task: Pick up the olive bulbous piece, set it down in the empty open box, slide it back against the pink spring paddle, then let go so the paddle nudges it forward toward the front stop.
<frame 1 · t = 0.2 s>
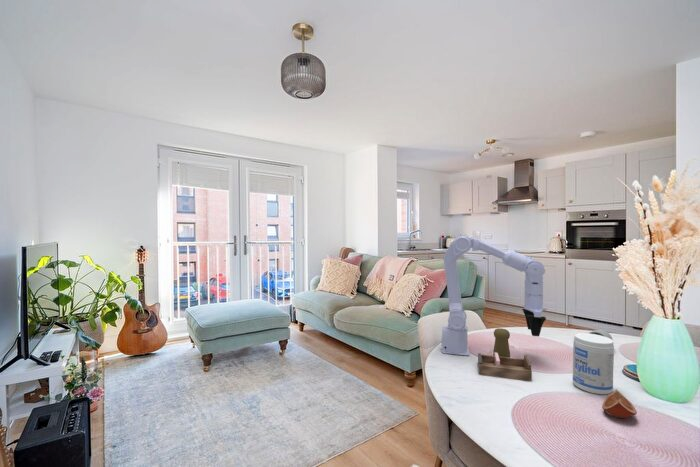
hand: (533, 332, 118), 10 cm above the table, tool pointing down, fingers open, 7 cm apart
olive bulbous piece: (501, 360, 118), on the table
supplement tub: (592, 388, 98), on the table
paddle: (497, 362, 110), point 3 cm above the table, slide at 0.0 cm
brown wedge piece: (619, 416, 83), on the table
ceramic mug: (594, 349, 129), on the table
open box: (503, 371, 109), on the table
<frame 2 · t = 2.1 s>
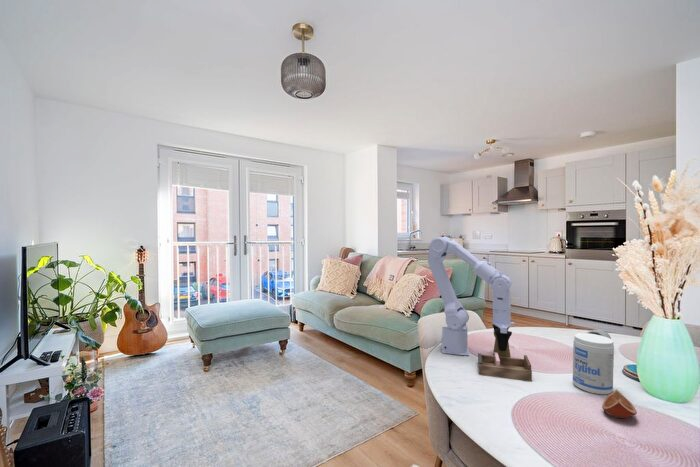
hand: (501, 347, 118), 4 cm above the table, tool pointing down, fingers closed on olive bulbous piece, 5 cm apart
olive bulbous piece: (501, 360, 118), on the table, touching gripper
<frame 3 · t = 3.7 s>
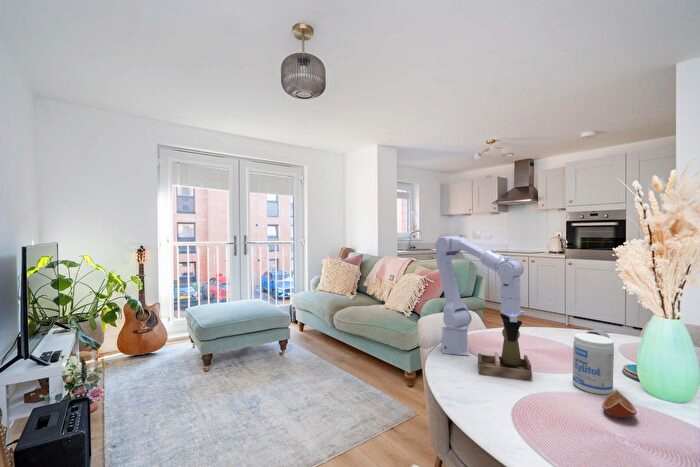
hand: (510, 338, 110), 10 cm above the table, tool pointing down, fingers closed on olive bulbous piece, 5 cm apart
olive bulbous piece: (511, 361, 110), point 3 cm above the table, touching gripper
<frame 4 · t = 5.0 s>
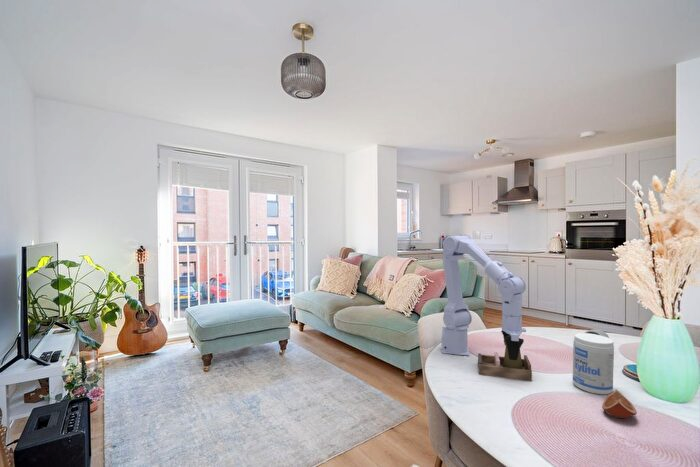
hand: (512, 356, 108), 5 cm above the table, tool pointing down, fingers closed on olive bulbous piece, 5 cm apart
olive bulbous piece: (512, 371, 108), resting on open box, touching gripper
when the fingers open (5 cm above the table, at t = 7.2 s): olive bulbous piece stays where it is, resting on open box.
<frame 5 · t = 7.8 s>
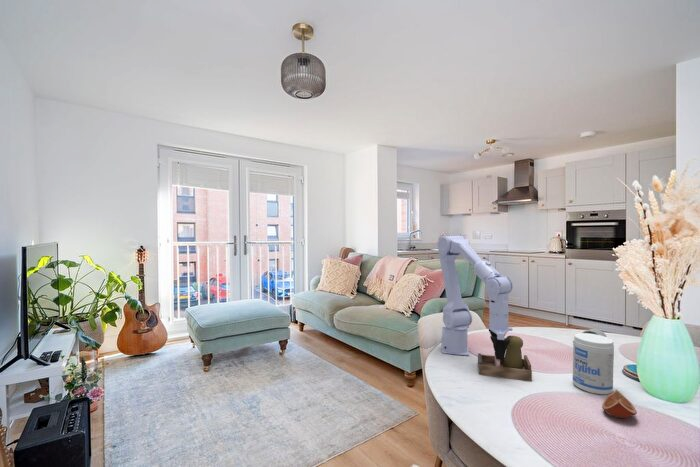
hand: (498, 355, 109), 5 cm above the table, tool pointing down, fingers open, 7 cm apart
olive bulbous piece: (512, 371, 108), point 1 cm above the table, touching open box
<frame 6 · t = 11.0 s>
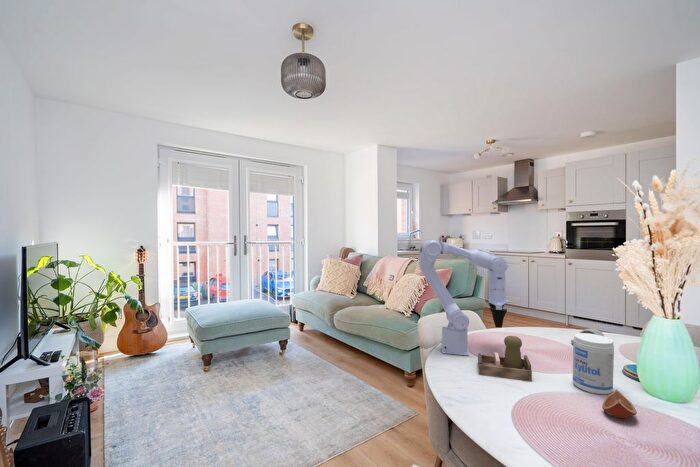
hand: (497, 324, 126), 10 cm above the table, tool pointing down, fingers open, 7 cm apart
at the end: olive bulbous piece 1.6 cm from the target spot on the open box, point 0.4 cm above the open box's base; olive bulbous piece tilted 0°; the gripper is holding nothing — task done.
